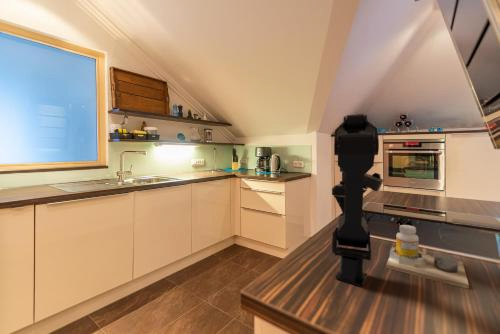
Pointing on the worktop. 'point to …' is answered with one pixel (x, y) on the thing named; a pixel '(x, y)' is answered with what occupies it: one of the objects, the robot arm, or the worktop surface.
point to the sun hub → (446, 263)
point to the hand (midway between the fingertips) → (350, 214)
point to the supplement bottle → (407, 242)
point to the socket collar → (408, 259)
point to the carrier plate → (433, 272)
